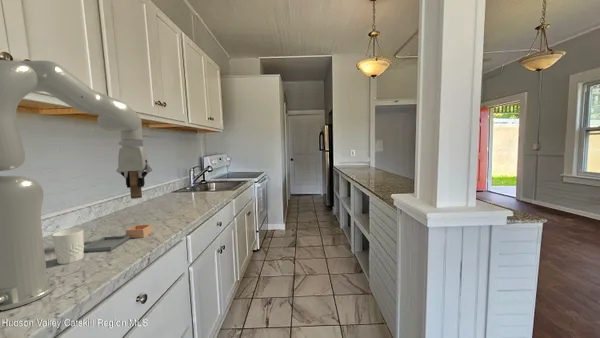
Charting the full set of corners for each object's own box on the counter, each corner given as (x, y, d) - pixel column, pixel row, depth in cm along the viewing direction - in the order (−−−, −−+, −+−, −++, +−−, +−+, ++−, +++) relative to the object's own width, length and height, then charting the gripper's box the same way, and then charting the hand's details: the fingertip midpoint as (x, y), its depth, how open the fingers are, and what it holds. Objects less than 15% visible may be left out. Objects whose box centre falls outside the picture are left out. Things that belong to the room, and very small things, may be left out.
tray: (111, 252, 92) (110, 246, 92) (82, 253, 91) (81, 248, 91) (130, 240, 104) (129, 235, 103) (104, 241, 103) (104, 236, 102)
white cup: (67, 266, 81) (64, 236, 80) (48, 264, 83) (45, 235, 82) (91, 255, 89) (89, 228, 88) (74, 254, 90) (71, 227, 90)
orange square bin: (143, 238, 105) (143, 229, 105) (126, 239, 104) (125, 230, 104) (152, 233, 112) (151, 224, 112) (135, 233, 111) (135, 225, 111)
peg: (138, 198, 105) (136, 170, 104) (128, 198, 104) (126, 170, 103) (143, 196, 109) (141, 169, 108) (134, 196, 108) (132, 169, 107)
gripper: (105, 144, 100) (109, 189, 102) (148, 143, 102) (151, 187, 103) (117, 144, 108) (120, 186, 109) (157, 144, 109) (160, 185, 111)
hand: (135, 186), depth 106 cm, fingers closed on peg, 4 cm apart
